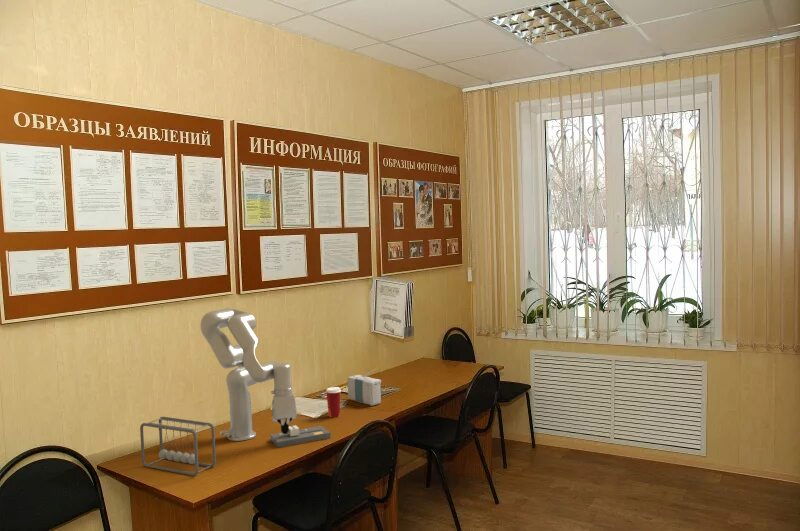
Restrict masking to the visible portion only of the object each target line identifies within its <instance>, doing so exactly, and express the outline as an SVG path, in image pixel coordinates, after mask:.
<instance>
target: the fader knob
mask: <svg viewBox="0 0 800 531" xmlns="http://www.w3.org/2000/svg"><path fill="white" fill-rule="evenodd" d="M299 430H300V427H298V425H296V424H295V425H290V426H289V431H288V434H289V435H290V436H296V435H300V433H299Z"/></svg>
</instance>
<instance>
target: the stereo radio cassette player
mask: <svg viewBox="0 0 800 531" xmlns="http://www.w3.org/2000/svg"><path fill="white" fill-rule="evenodd" d="M378 368H379V367H378V366H377V367H376V368H374V369H372V370H370V371H369V372H367V373H366V374H364V375H362V374H355V375H351V376H348V377H347V396H348V399H350V400H351V401H353V402H354V401H355V402H358V403H361V404H365V405H368V406H371V407H373V406H375V405H380V404H381V403H382V395H381V383H382V380H381V379H378V378H373V377H369V376H367V375H368V374H370V373H372V372H373V371H375V370H376V369H378Z"/></svg>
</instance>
